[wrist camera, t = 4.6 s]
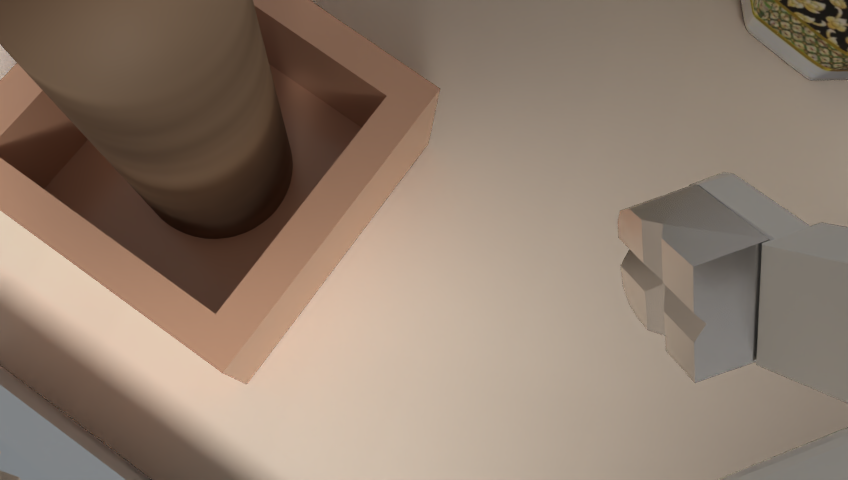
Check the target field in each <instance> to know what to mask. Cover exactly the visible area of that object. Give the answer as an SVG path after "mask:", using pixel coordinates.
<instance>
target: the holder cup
mask: <svg viewBox="0 0 848 480" xmlns="http://www.w3.org/2000/svg"><path fill="white" fill-rule="evenodd" d="M253 2H254V6H255V10H256V14H257V18H258V22H259V26H260V30H261V34H262V38H263V42H264V46H265V50H266V54H267V58H268V62H269V65H270V69H271V73H272V77H273V81H274V85H275V89H276V93H277V97H278V101H279V105H280V109H281V113H282V117H283V121H284V124H285V128H286V132H287V136H288V140H289V144H290V148H291V153H292V161H293V170H292V178H291V182H290V186H289V188H288V191H287V194H286V196H285V197H284V199H283V201H282V203H281V204H280V206H279V207H278V208H277V210H276V211H275V212H274V213H273V214H272V215H271V216H270V217H269V218H268V219H267V220H265V221H264V222H263V223H262V224H260V225H259V226H257V227H256V228H254V229H252V230H250V231H248V232H246V233H243V234H240V235H237V236H233V237H229V238H221V239H205V238H199V237H194V236H191V235H188V234H185V233H183V232H180V231H178V230H176V229H175V228H173V227H171V226H170V225H168V224H167V223H166V222H165V221H163V220H162V219H161V218H160V217H159V216H158V215H157V214H156V213H155V211H154V210H153V209H152V208H151V207H150V206H149V205H148V204H147V203H146V202H145V201H144V200H143V198H142V197H141V196H140V195H139V194H138V193H137V192H136V191H135V190H134V189H133V188H132V187H131V185H130V184H129V183H128V182H127V181H126V180H125V179H124V178H123V177H122V176H121V175H120V174H119V172H118V171H117V170H116V169H115V168H114V167H113V166H112V165H111V164H110V163H109V162H108V161H107V159H106V158H105V157H104V156H103V155H102V154H101V153H100V152H99V151H98V150H97V149H96V148H95V146H94V145H93V144H92V143H91V142H90V141H89V140H88V139H87V138H86V137H85V136H84V135H83V133H82V132H81V131H80V130H79V129H78V128H77V127H76V126H75V125H74V124H73V123H72V122H71V121H70V119H69V118H68V117H67V116H66V115H65V114H64V113H63V112H62V111H61V110H60V109H59V108H58V106H57V105H56V104H55V103H54V102H53V101H52V100H51V99H50V98H49V97H48V96H47V95H46V93H45V92H44V91H43V90H42V89H41V88H40V87H39V86H38V85H37V84H36V83H35V82H34V80H33V79H32V78H31V77H30V76H29V75H28V74H27V73H26V72H25V71H24V70H23V69H22V67H21V66H20V65H19V64H18V63H16V64H15V66H14V67H13V68H12V69H11V70H10V71H9V72H8V73H7V74H6V75H5V76H4V77H3V78H2V79H1V80H0V210H1V211H2V212H3V213H5V214H6V215H8V216H9V217H10V218H12V219H13V220H14V221H16V222H17V223H18V224H20V225H21V226H23V227H24V228H25V229H27V230H28V231H29V232H31V233H32V234H33V235H35V236H36V237H38V238H39V239H40V240H42V241H43V242H44V243H46V244H47V245H48V246H50V247H51V248H53V249H54V250H55V251H57V252H58V253H59V254H61V255H62V256H64V257H65V258H66V259H68V260H69V261H70V262H72V263H73V264H74V265H76V266H77V267H79V268H80V269H81V270H83V271H84V272H85V273H87V274H88V275H89V276H91V277H92V278H94V279H95V280H96V281H98V282H99V283H100V284H102V285H103V286H104V287H106V288H107V289H109V290H110V291H111V292H113V293H114V294H115V295H117V296H118V297H119V298H121V299H122V300H124V301H125V302H126V303H128V304H129V305H130V306H132V307H133V308H134V309H136V310H137V311H139V312H140V313H141V314H143V315H144V316H145V317H147V318H148V319H149V320H151V321H152V322H154V323H155V324H156V325H158V326H159V327H160V328H162V329H163V330H164V331H166V332H167V333H169V334H170V335H171V336H173V337H174V338H175V339H177V340H178V341H179V342H181V343H182V344H184V345H185V346H186V347H188V348H189V349H190V350H192V351H193V352H194V353H196V354H197V355H199V356H200V357H201V358H203V359H204V360H205V361H207V362H208V363H209V364H211V365H212V366H214V367H215V368H216V369H218V370H219V371H220V372H222V373H223V374H226V375H228V376H230V377H232V378H234V379H236V380H239V381H241V382H243V383H245V384H247V383H248V382H249V381H250V379H251V378H252V377H253V375H254V374H255V373H256V371H257V370H258V369H259V368H260V366H261V365H262V364H263V362H264V361H265V360H266V358H267V357H268V356H269V354H270V353H271V352H272V350H273V349H274V348H275V346H276V345H277V344H278V342H279V341H280V340H281V338H282V337H283V336H284V334H285V333H286V332H287V330H288V329H289V328H290V326H291V325H292V324H293V322H294V321H295V320H296V318H297V317H298V316H299V314H300V313H301V312H302V310H303V309H304V308H305V307H306V305H307V304H308V303H309V301H310V300H311V299H312V297H313V296H314V295H315V293H316V292H317V291H318V289H319V288H320V287H321V285H322V284H323V283H324V281H325V280H326V279H327V277H328V276H329V275H330V273H331V272H332V271H333V269H334V268H335V267H336V265H337V264H338V263H339V261H340V260H341V259H342V257H343V256H344V255H345V253H346V252H347V251H348V250H349V248H350V247H351V246H352V244H353V243H354V242H355V240H356V239H357V238H358V236H359V235H360V234H361V232H362V231H363V230H364V228H365V227H366V226H367V224H368V223H369V222H370V220H371V219H372V218H373V216H374V215H375V214H376V212H377V211H378V210H379V208H380V207H381V206H382V204H383V203H384V202H385V200H386V199H387V198H388V196H389V195H390V194H391V192H392V191H393V190H394V189H395V187H396V186H397V185H398V183H399V182H400V181H401V179H402V178H403V177H404V175H405V174H406V173H407V171H408V170H409V169H410V167H411V166H412V165H413V163H414V162H415V161H416V159H417V158H418V157H419V155H420V154H421V153H422V151H423V150H424V149H425V147H426V146H427V145H428V143H429V139H430V134H431V129H432V125H433V120H434V116H435V111H436V106H437V102H438V97H439V93H440V88H438V87H437V86H435V85H434V84H433V83H431V82H430V81H428V80H427V79H425V78H424V77H422V76H421V75H419V74H418V73H416V72H415V71H413V70H412V69H410V68H409V67H407V66H406V65H405V64H403V63H402V62H400V61H399V60H397V59H396V58H394V57H393V56H391V55H390V54H388V53H387V52H385V51H384V50H382V49H381V48H379V47H378V46H377V45H375V44H374V43H372V42H371V41H369V40H368V39H366V38H365V37H363V36H362V35H360V34H359V33H357V32H356V31H354V30H353V29H351V28H350V27H348V26H347V25H346V24H344V23H343V22H341V21H340V20H338V19H337V18H335V17H334V16H332V15H331V14H329V13H328V12H326V11H325V10H323V9H322V8H320V7H319V6H318V5H316V4H315V3H313V2H312V1H310V0H253Z"/></svg>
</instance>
